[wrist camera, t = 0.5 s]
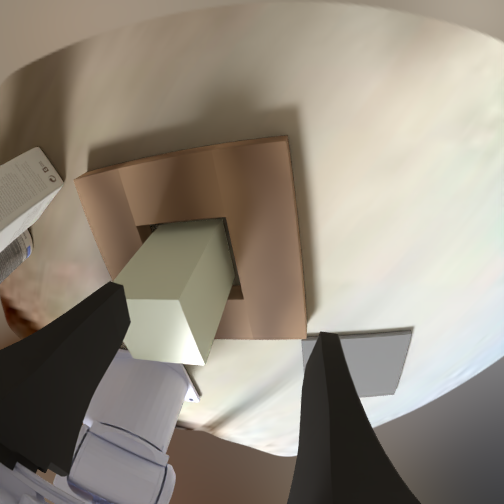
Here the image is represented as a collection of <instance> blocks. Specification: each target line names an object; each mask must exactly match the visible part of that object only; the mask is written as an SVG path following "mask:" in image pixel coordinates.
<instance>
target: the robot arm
mask: <svg viewBox="0 0 504 504" xmlns="http://www.w3.org/2000/svg"><path fill="white" fill-rule="evenodd" d="M130 323H131V320H130V316H129V311H128V306H127V301H126V296H125V291H124V286H123V285H121V284H117V283H114V282H111V281H110V282H108V283H107V284H105V285H104V286H102V287H101V288H99V289H98V290H97V291H95V292H94V293H92V294H91V295H90V296H88V297H87V298H86V299H84V300H83V301H81V302H80V303H79V304H77V305H76V306H74V307H73V308H72V309H70V310H69V311H67V312H66V313H65V314H63V315H62V316H60V317H59V318H57V319H55V320H54V321H52V322H51V323H49V324H48V325H46V326H45V327H43V328H42V329H40V330H38V331H37V332H35V333H33V334H32V335H30V336H28V337H26V338H24V339H22V340H21V341H19V342H16V343H14V344H12V345H10V346H8V347H6V348H4V349H1V350H0V504H49V503H47V502H45V500H44V497H45V498H47V499H48V500H50V501H52V502H53V503H55V504H168V503H169V501H170V498H171V496H172V493H173V490H174V485H175V478H176V476H175V472H174V470H173V467H172V466H171V465H169V464H167V461H168V458H169V456H168V455H166V454H165V453H166V451H167V447H168V445H169V442H170V439H171V436H172V433H173V431H174V428H175V425H176V422H177V419H178V416H179V414H180V411H181V408H182V405H183V402H184V401H190V402H199V401H200V397H199V395H198V393H197V391H196V389H195V387H194V385H193V383H192V381H191V379H190V377H189V375H188V374H187V372H186V370H185V368H184V366H183V364H180V363H170V362H160V361H150V360H142V359H134V358H133V357H132V355H131V354H130V352H129V350H122V349H119V348H120V346H121V345H122V342H123V340H124V338H125V335H126V333H127V331H128V328H129V326H130ZM82 423H84V425H83V426H82ZM37 469H39V470H40V471H42V472H44V473H46V471H47V469H49V470H51V471H53V472H54V473H56V477H55V479H54V482H53V484H54V485H52V484H51V483H49V482H47V481H46V480H44V479H43V478H41V477H39V476H38V475H36V471H37ZM287 504H421V503H420V502H419V501H418V499H417V498H416V497H415V496H414V494H412V492H411V491H410V490H409V488H408V486H407V485H406V484H405V483H404V481H403V480H402V478H401V477H400V475H399V474H398V472H397V471H396V469H395V467H394V466H393V464H392V463H391V461H390V459H389V458H388V456H387V455H386V454H385V451H384V449H383V448H382V446H381V444H380V442H379V440H378V438H377V436H376V434H375V433H374V431H373V429H372V426H371V424H370V422H369V420H368V418H367V416H366V413H365V411H364V408H363V406H362V404H361V401H360V399H359V396H358V394H357V391H356V388H355V385H354V383H353V380H352V377H351V374H350V371H349V368H348V365H347V362H346V359H345V355H344V352H343V348H342V345H341V341H340V337H339V336H338V334H332V333H327V332H320V334H319V336H318V339H317V341H316V343H315V346H314V348H313V350H312V352H311V355H310V357H309V359H308V361H307V363H306V367H305V373H304V380H303V386H302V397H301V416H300V433H299V447H298V455H297V460H296V465H295V471H294V476H293V480H292V485H291V489H290V494H289V498H288V502H287Z"/></svg>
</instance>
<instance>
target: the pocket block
mask: <svg viewBox="0 0 504 504" xmlns="http://www.w3.org/2000/svg"><path fill="white" fill-rule="evenodd" d="M74 183H75V186H76V189H77V192H78V195H79V198H80V201H81V203H82V206H83V209H84V212H85V215H86V217H87V220H88V223H89V225H90V228H91V230H92V233H93V235H94V238H95V241H96V243H97V245H98V248H99V250H100V253H101V255H102V257H103V260H104V262H105V265H106V267H107V269H108V271H109V274H110V276H111V278H112V280H113V281H114V280H115V278H116V277H117V276H118V274H119V273H120V272H121V271H122V269H123V268H124V267H125V266H126V264H127V263H128V262H129V261H130V259H131V258H132V257H133V256H134V255H135V253H136V252H137V251H138V250H139V248H140V247H141V246H142V245H143V244H144V242H145V241H146V240H147V239H148V238H149V236H150V235H151V234H152V231H151V227H150V224H158V223H168V222H177V221H187V220H197V219H208V218H218V217H226V221H227V225H228V230H229V235H230V239H231V244H232V248H233V253H234V257H235V262H236V266H237V270H238V275H239V279H240V284H241V285H233V286H232V287H231V290H230V293H229V296H228V299H227V302H226V305H225V308H224V311H223V313H222V316H221V319H220V322H219V325H218V328H217V331H216V334H215V337H214V339H249V340H277V339H306V337H307V315H306V301H305V289H304V277H303V265H302V254H301V244H300V234H299V224H298V215H297V206H296V197H295V188H294V180H293V172H292V164H291V156H290V148H289V141H288V135H285V136H276V137H267V138H258V139H250V140H243V141H235V142H228V143H222V144H215V145H209V146H203V147H197V148H191V149H186V150H180V151H175V152H170V153H165V154H160V155H155V156H151V157H146V158H141V159H137V160H133V161H128V162H124V163H120V164H116V165H112V166H108V167H104V168H100V169H96V170H92V171H89V172H86V173H84V174H83V175H81V176H79V177H78V178H76V179H74Z"/></svg>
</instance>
